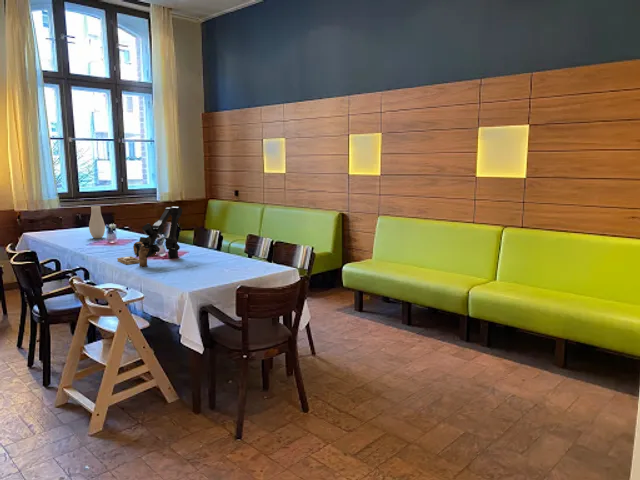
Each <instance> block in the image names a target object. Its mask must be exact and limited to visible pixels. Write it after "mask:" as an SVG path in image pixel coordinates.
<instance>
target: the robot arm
mask: <svg viewBox="0 0 640 480" xmlns="http://www.w3.org/2000/svg"><path fill="white" fill-rule="evenodd" d="M182 214H183V208H182V207H181V206H171V207H165V209H164V211H163V213H162V214H161V216H160V217H159V219H158V220H157V221H155V222H154V224H152V225H151V223H146V224H145V225H143V226H142V228H141V230H142V231H143V232H144V234H145V235H146V237H143V236H140V237H139V241H138V242H142V244H144V245H141V244H140V243H136V242H134V243H133V246H135V248H136V249H137V254H135V255H136V257H135V258H139V251H140V247H141V246H144V247H145V248H146V249H149V251H148V253H147V255H146V258H147V259H148V258H149V257H152V256H151V255H152V254H154V253H156V252H157V253H159V252H160V250H161V248H160V247H159V246H158V244H156V242H157V241H156V240H157V239H158V238H159V239H160V237H161V236H160V234H161V233H163V231H164V229H165V224H166V223H167V221H168V219H169V218H170V217H171V219H170V220H171V222H170V228H169V235H168V237H166V238H165V242H164V244H165V249H166V250H167V258H168V259H179V258H180V256H179V250H180V249H181V246H180V245H179V243H178V240H177V231H178V226H179V225H178V224H179V219H180V217H181V216H182Z"/></svg>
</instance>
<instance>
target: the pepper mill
mask: <svg viewBox="0 0 640 480" xmlns="http://www.w3.org/2000/svg"><path fill="white" fill-rule="evenodd" d="M146 255H147V250H145V247H144V246H141V247H140V251H139V256H138V259H139V263H138V264H139V267H140V268H146V267H147V266H148V258H146Z"/></svg>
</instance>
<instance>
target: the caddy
mask: <svg viewBox="0 0 640 480" xmlns="http://www.w3.org/2000/svg"><path fill="white" fill-rule="evenodd" d="M125 257H126V256H123V257H117V262H119V263H122V264H124V265H125V266H127V265H132V264H133V265H134V264H139V258H138V257H134V256H131V255H130V256H128V257H130V259H123V258H125Z"/></svg>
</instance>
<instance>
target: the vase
mask: <svg viewBox="0 0 640 480" xmlns="http://www.w3.org/2000/svg"><path fill="white" fill-rule="evenodd" d="M90 210H91V214H90V218H89V219H90V220H89V223H88V231H89V233H90V236H91V237H92V238H93V239H102V238H103V236H104V234H105V231H106V224H105V221H104V218H103V216H102V210H101V205H97V206H95V205H94V206H91V207H90Z"/></svg>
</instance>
